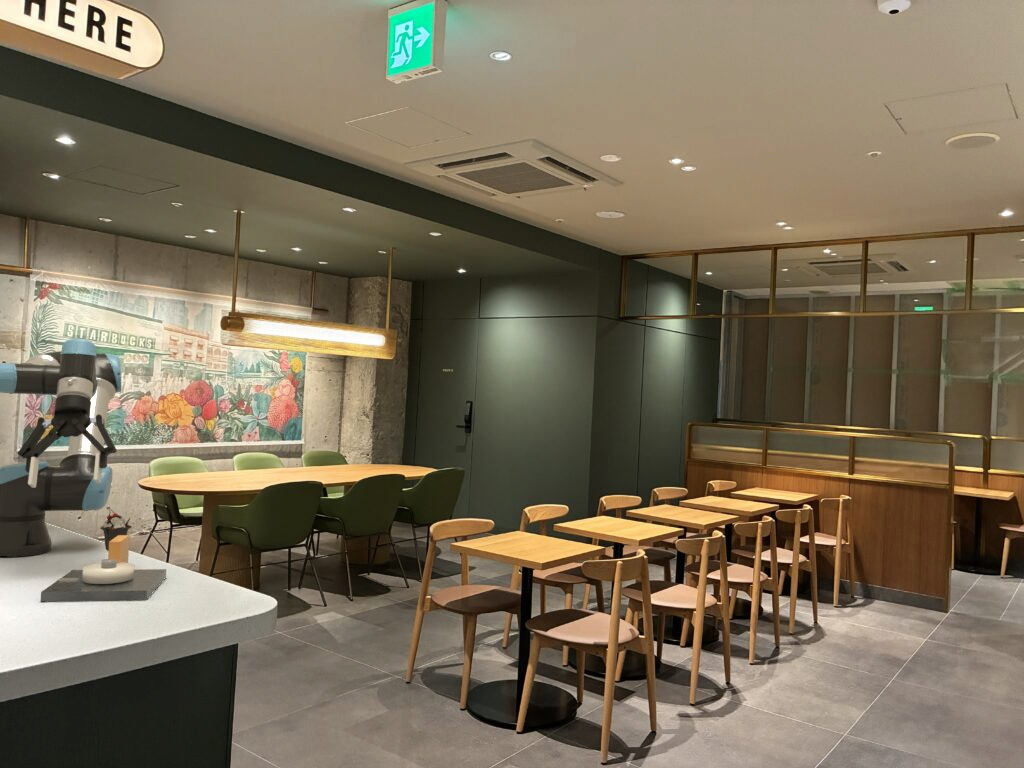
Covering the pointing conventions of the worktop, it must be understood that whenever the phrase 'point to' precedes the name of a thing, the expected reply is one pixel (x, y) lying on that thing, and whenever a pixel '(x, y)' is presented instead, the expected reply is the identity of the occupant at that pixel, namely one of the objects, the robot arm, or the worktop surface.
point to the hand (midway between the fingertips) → (64, 483)
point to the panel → (104, 587)
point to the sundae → (114, 527)
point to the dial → (111, 564)
